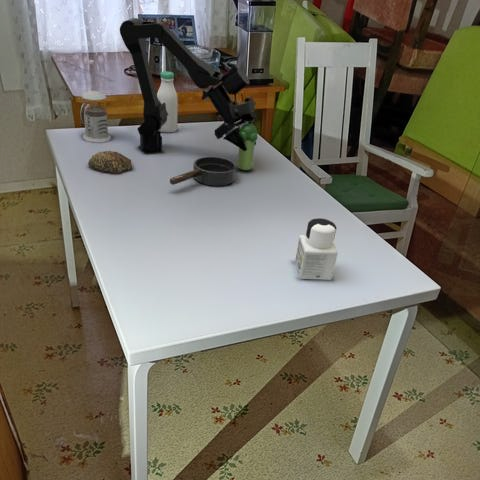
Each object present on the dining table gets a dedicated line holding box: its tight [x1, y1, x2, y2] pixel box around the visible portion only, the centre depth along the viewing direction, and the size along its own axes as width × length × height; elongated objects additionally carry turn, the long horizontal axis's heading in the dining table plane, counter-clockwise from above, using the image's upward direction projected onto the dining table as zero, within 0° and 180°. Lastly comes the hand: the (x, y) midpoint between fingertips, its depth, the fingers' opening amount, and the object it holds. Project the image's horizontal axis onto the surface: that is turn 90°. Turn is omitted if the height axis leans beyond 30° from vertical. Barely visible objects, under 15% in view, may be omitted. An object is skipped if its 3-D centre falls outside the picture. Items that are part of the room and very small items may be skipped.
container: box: [294, 217, 339, 281], centre depth 122 cm, size 8×8×13 cm
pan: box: [192, 156, 237, 187], centre depth 163 cm, size 13×13×4 cm
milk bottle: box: [156, 70, 179, 133], centre depth 191 cm, size 8×8×20 cm
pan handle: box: [169, 169, 202, 186], centre depth 154 cm, size 13×2×2 cm, turn 140°
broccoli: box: [236, 124, 258, 171], centre depth 168 cm, size 7×7×14 cm
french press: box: [79, 59, 112, 143], centre depth 175 cm, size 10×12×25 cm
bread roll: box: [87, 150, 133, 175], centre depth 163 cm, size 13×12×5 cm
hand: (250, 147), depth 167 cm, fingers closed on broccoli, 6 cm apart
